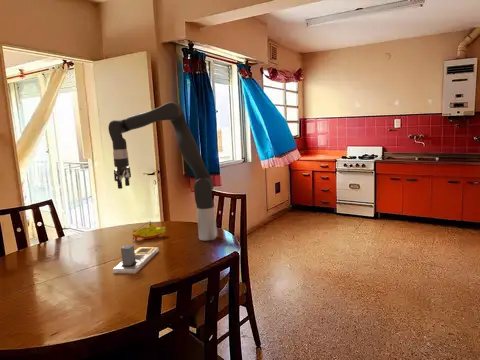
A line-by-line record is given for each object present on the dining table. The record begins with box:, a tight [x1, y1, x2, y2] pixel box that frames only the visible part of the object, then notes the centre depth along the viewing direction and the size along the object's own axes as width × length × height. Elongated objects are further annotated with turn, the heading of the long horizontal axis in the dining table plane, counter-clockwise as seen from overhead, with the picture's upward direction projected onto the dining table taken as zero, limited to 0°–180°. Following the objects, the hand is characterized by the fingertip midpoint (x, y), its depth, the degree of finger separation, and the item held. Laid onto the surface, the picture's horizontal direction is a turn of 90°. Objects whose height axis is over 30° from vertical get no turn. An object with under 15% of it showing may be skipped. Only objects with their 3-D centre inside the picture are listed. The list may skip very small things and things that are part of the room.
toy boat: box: [132, 220, 166, 242], centre depth 192 cm, size 6×18×10 cm, turn 115°
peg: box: [120, 244, 136, 267], centre depth 151 cm, size 4×4×10 cm
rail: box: [112, 246, 159, 275], centre depth 159 cm, size 10×26×2 cm, turn 172°
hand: (124, 187), depth 190 cm, fingers open, 8 cm apart
